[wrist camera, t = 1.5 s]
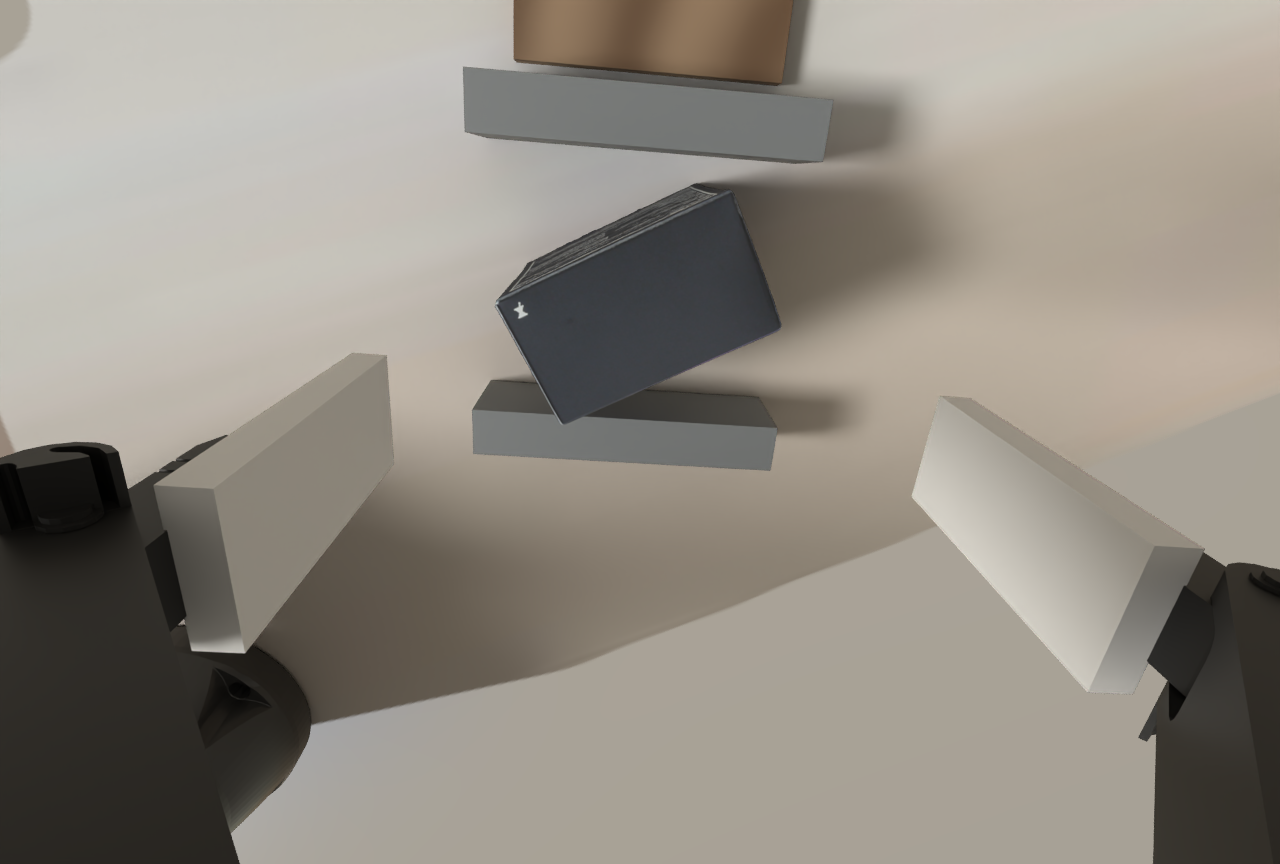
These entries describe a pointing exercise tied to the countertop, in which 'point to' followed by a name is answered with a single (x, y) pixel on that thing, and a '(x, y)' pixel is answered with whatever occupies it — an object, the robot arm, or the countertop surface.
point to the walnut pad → (658, 37)
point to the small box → (639, 301)
